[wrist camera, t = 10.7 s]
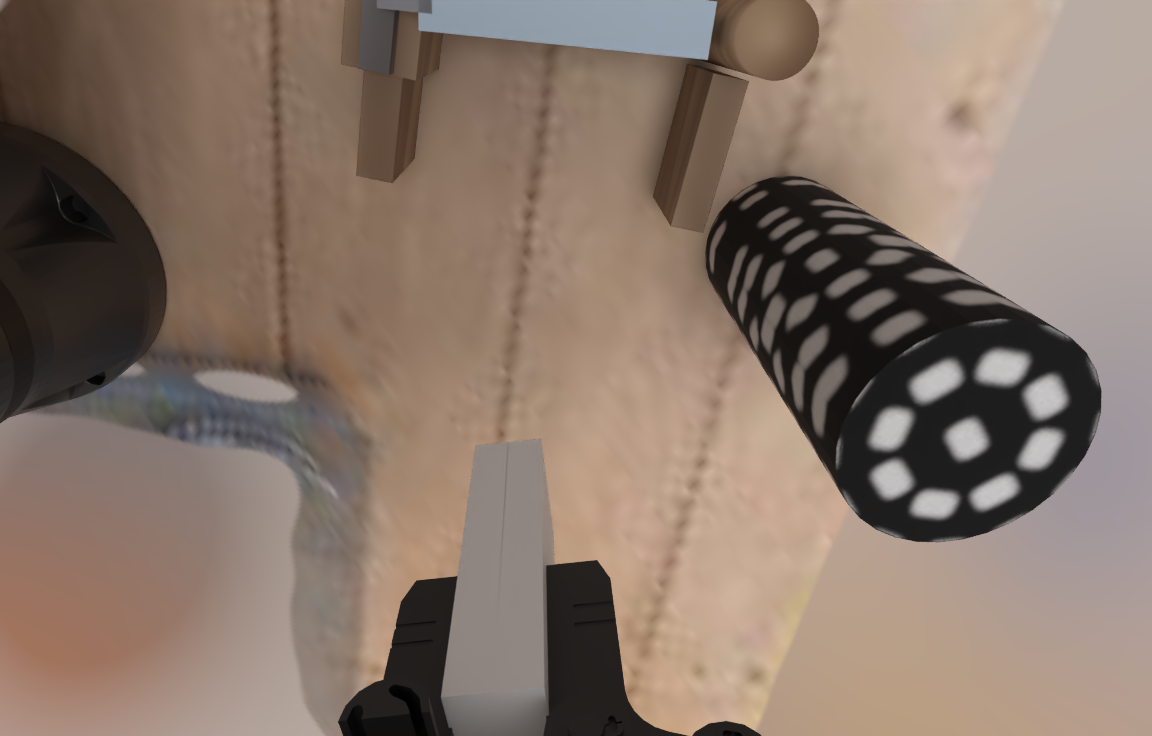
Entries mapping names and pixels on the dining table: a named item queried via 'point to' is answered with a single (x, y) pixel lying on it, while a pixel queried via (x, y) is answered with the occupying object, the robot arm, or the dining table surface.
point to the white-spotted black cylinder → (901, 364)
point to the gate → (575, 22)
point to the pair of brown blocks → (700, 125)
